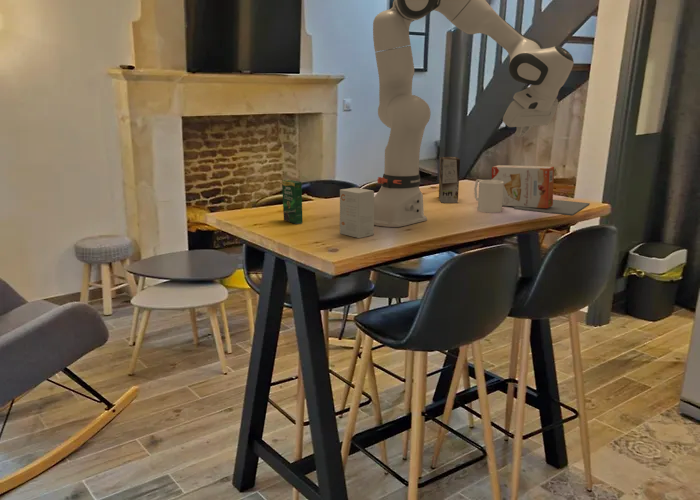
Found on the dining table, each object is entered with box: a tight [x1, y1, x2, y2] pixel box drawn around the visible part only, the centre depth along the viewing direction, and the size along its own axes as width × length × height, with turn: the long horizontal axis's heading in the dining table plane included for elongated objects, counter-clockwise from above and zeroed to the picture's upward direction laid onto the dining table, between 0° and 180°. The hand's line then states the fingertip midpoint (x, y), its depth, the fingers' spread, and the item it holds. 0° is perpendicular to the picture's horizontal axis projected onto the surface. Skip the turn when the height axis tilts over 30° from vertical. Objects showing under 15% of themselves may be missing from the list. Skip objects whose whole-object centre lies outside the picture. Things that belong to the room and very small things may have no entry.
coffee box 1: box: [281, 179, 304, 225], centre depth 193 cm, size 8×3×13 cm, turn 35°
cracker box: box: [491, 164, 555, 208], centre depth 218 cm, size 14×6×21 cm
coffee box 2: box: [438, 156, 461, 204], centre depth 230 cm, size 9×6×16 cm
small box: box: [339, 187, 375, 239], centre depth 177 cm, size 8×6×13 cm
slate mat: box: [513, 199, 591, 216], centre depth 221 cm, size 24×20×1 cm
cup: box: [473, 178, 504, 214], centre depth 214 cm, size 8×12×10 cm
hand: (518, 135), depth 202 cm, fingers closed
